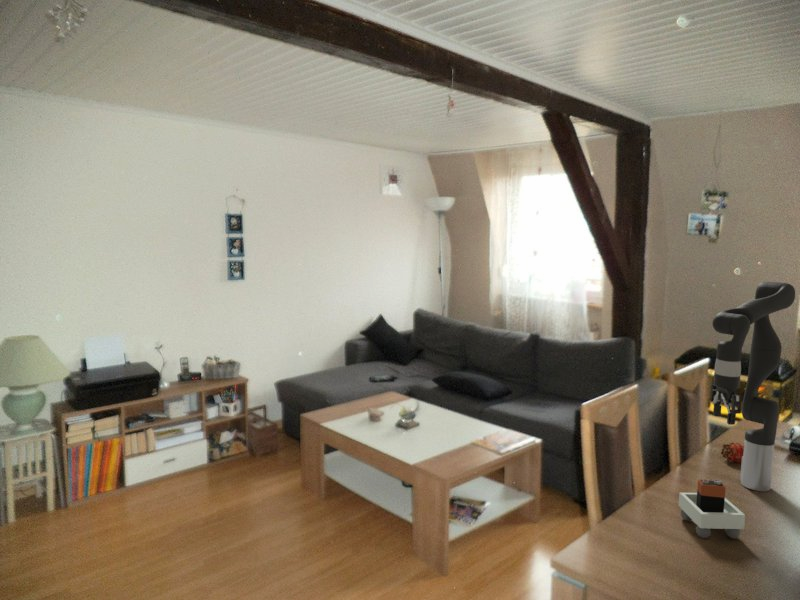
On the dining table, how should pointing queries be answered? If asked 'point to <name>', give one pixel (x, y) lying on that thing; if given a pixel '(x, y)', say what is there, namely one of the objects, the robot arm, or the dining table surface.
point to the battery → (711, 496)
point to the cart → (711, 517)
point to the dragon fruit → (733, 452)
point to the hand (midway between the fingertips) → (723, 419)
